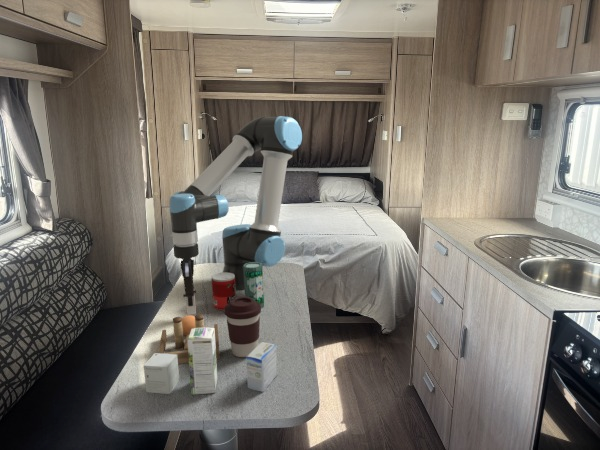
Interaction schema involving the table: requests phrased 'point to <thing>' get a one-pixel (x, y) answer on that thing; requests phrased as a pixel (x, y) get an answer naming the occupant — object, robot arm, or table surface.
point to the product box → (161, 373)
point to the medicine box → (261, 366)
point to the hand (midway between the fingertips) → (191, 313)
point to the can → (254, 281)
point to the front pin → (186, 342)
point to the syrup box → (202, 360)
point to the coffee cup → (243, 325)
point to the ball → (188, 324)
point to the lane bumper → (183, 355)
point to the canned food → (223, 289)
